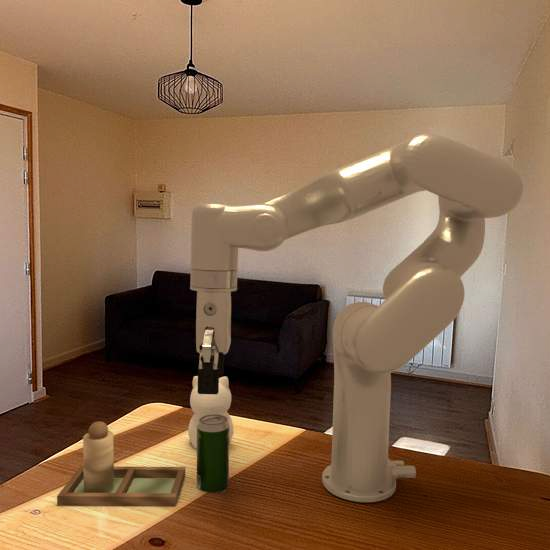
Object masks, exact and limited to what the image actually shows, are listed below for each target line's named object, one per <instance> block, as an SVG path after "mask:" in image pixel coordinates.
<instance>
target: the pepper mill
mask: <svg viewBox="0 0 550 550" xmlns="http://www.w3.org/2000/svg"><path fill="white" fill-rule="evenodd" d="M82 440H83V441H82V453H83V456H82V457H83V460H82V462H83V465H82V466H84V479H83V480H84V493H110V492H111V491H112V490H113V489H114V465H115V464H114V463H115V462H114V460H115V459H114V457H115V456H114V451H115V449H114V445H115V444H114V432H112V431H111V430H109V427H108V425H107V423H105V422H104V421H94V422H93V423H91V425H90V426H89V427H88V432H87V433H85V434H84V435H83V436H82Z"/></svg>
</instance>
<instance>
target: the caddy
mask: <svg viewBox="0 0 550 550" xmlns="http://www.w3.org/2000/svg"><path fill="white" fill-rule="evenodd" d="M185 477H186V466H123V465H122V466H114V489H113V490H112V491H111V492H110V493H84V465H81V466H79V467H78V469H77V470H76V471H75V472H74V474H73V475H72V476H71V478H70V479H69V480H68V482H67V483H66V484H65V485H64V487H63V488H62V489H61V490H60V492H59V493H58V494H57V495H56V506H59V507H173V508H175V507H176V506H177V503H178V501H179V497H180V494H181V490H182V487H183V485H184V481H185Z"/></svg>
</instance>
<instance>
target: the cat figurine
mask: <svg viewBox="0 0 550 550" xmlns="http://www.w3.org/2000/svg"><path fill="white" fill-rule="evenodd" d="M229 383H230V382H229V378H228V376H224V375H223V376H220V377H219V392H218V394H216V395H215V394H198V392H197V391H198V375H196V376H195V375H194V376H193V379H192V390H191V392H190V398H189V404H190V408H191V411H192V412H193V413H194V414H192V417H191V419H190V420H189V424H188V429H187V430H188V431H187V432H188V433H187V434H188V438H189V441H190V443H191V444H192V447H193V448H194V449H195V450H197V424H198V420H199V418H200V417H202V416H205V415H210V414H218V415H223V416H226V417H227V418H228V423H229V443H230V442H231V441H232V439H233V436H234V422H233V419H232V417H231V416H230V414H229V413H228V411H229V409H230V407H231V404H232V393H231V390H230V388H229V387H230V386H229V385H230V384H229Z"/></svg>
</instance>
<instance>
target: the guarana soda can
mask: <svg viewBox="0 0 550 550" xmlns="http://www.w3.org/2000/svg"><path fill="white" fill-rule="evenodd" d="M229 470H230V442H229V423H228V418H227V417H226V416H223V415H218V414H210V415H205V416H202V417H200V418H199V420H198V424H197V449H196V488H197V489H198V490H199V491H202V492H204V493H210V494H211V493H219V492H221V495H223V494H225V493H226V491H227V490H228V488H229V485H230V484H229V483H230V481H229V480H230V476H229V475H230V473H229V472H230V471H229Z"/></svg>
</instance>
